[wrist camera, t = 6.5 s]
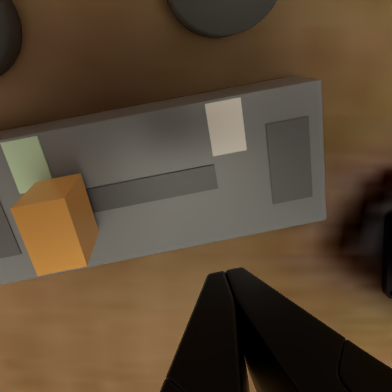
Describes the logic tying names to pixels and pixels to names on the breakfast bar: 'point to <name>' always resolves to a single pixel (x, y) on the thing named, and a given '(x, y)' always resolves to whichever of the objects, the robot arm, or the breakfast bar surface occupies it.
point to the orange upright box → (57, 224)
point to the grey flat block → (176, 170)
